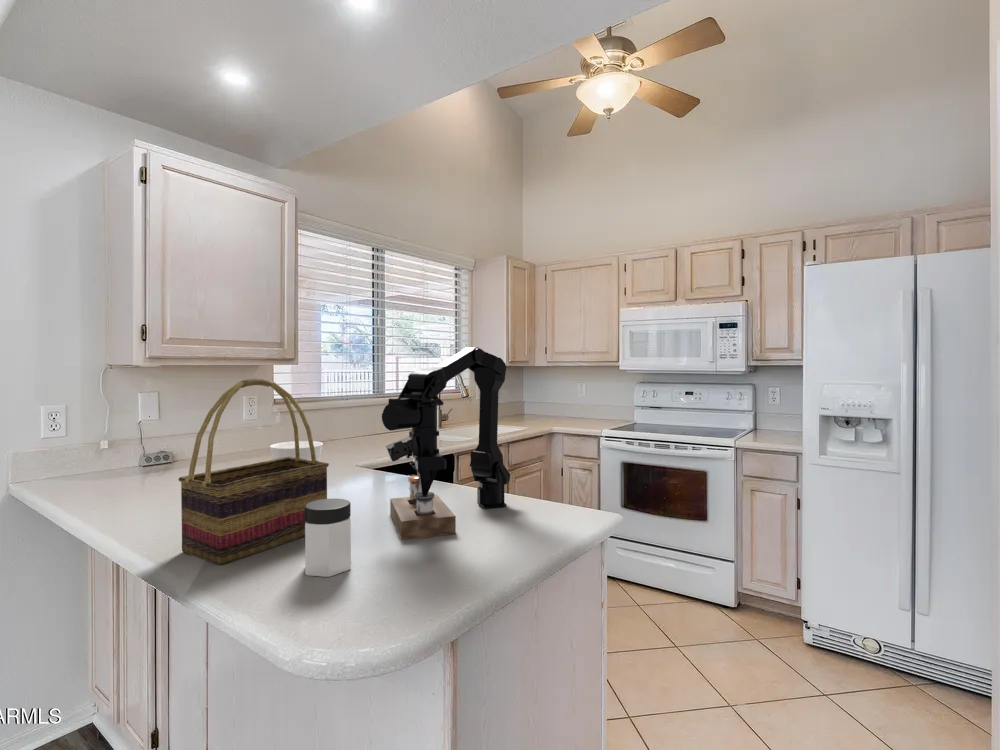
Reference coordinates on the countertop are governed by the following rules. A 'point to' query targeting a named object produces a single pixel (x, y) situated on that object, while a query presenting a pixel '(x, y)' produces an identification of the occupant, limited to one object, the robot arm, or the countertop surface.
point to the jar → (327, 537)
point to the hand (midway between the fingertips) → (424, 494)
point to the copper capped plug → (414, 488)
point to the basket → (248, 495)
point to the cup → (289, 450)
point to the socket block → (421, 519)
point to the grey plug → (424, 503)
